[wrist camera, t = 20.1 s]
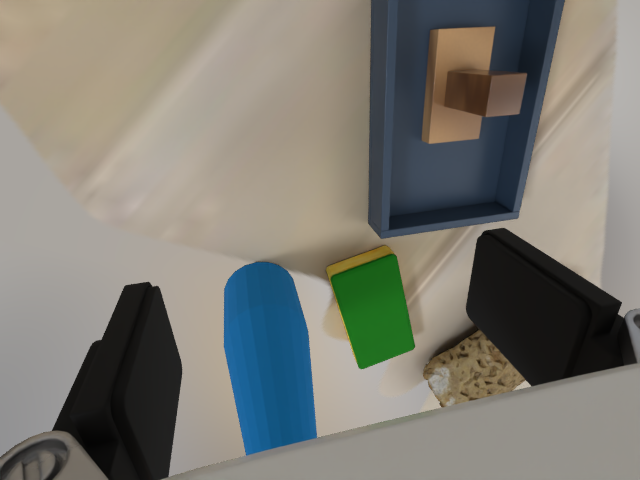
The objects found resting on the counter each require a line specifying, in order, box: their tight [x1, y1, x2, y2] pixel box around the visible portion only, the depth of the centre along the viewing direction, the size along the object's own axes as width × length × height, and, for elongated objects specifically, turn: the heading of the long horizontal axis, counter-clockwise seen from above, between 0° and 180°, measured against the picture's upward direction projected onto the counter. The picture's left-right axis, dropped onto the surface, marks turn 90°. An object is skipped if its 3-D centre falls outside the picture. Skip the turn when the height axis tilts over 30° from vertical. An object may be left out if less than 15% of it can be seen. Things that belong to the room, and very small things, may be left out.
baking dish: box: [368, 0, 565, 239], centre depth 32 cm, size 26×15×4 cm, turn 3°
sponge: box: [423, 329, 525, 407], centre depth 46 cm, size 13×8×20 cm
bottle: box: [224, 262, 317, 455], centre depth 26 cm, size 7×7×30 cm
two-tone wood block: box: [422, 26, 527, 144], centre depth 30 cm, size 9×5×8 cm, turn 2°
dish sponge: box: [326, 246, 415, 369], centre depth 42 cm, size 7×14×2 cm, turn 16°
